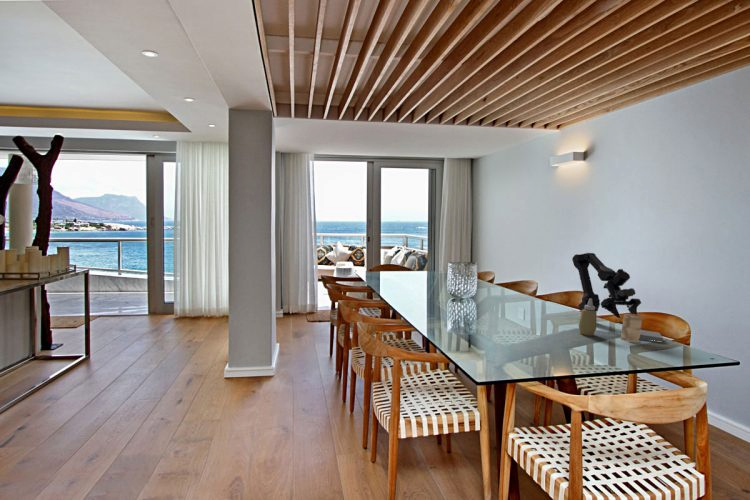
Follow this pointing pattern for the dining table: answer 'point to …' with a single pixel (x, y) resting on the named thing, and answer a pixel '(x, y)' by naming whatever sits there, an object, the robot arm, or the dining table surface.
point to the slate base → (650, 335)
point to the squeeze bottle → (588, 319)
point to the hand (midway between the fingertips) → (627, 318)
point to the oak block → (631, 328)
